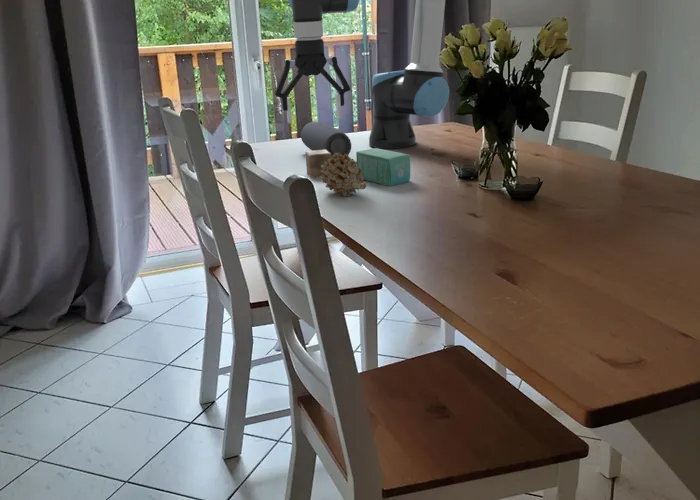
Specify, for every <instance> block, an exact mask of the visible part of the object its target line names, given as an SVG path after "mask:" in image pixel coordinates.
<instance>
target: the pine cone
mask: <svg viewBox="0 0 700 500" xmlns="http://www.w3.org/2000/svg"><path fill="white" fill-rule="evenodd" d="M327 161H328V162H326V161H325V165H321V167H322V170H321V172H322V175H321V176H320V177H319V178H320V180H321V181H322V183H324V184H325V188H327V189H329V190H330V191H332V190H333V192H335V193H336V194H337V195H339V194H342V196H343V197H345V196H346V197H350V194H352V193H354V194H356V193H357V191H360V190H366V188H367V185H368V183H367V181H364V180H363V179H364V177H363V176H361V173H362V170H361V167H359V166H357V160H354V158H351V157H350V156H349V155H348V154H345V153H344V156H343V155H341V154H340V153H334V155H333V156H331V159H328V160H327ZM356 190H357V191H356Z"/></svg>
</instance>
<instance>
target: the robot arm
mask: <svg viewBox="0 0 700 500" xmlns="http://www.w3.org/2000/svg"><path fill="white" fill-rule="evenodd" d="M288 3H289V5H288V6H289V7H290V9H291V10H292V19H293V33H294V36H293V37H294V38H295V39H296V40H295V42H294V48H295V59H293V60H292V59H291V60H290V59H288V58H287V59H284V61H283V70H282V72H281V75H280V78H279V80H278V82H277V85H276V87H275V90H274V94H273V95H275V97H277V98H280V99H281V105H282V111H286V116H287V123H288V124H292V123H293V122H292V110H291V109H292V108H291V99H290V97H289V95H290V94H291V92H292V91H293V89H294V88H295V87H296V85H297V84H298V82H299V81H300V79H302V78H303V76H306V77H310V76H319V75H320V74H321V76H322V77H323V78H324V79H325V80H326V81H327V82H328V83H329V84H330V85H331V86H332V87H333V89H335V90H336V91H337V93H334V95H335V109H336V119H338V120H342V107H344V105H345V94H346V93H347V92H350V91H351V86H350V85H349V83H348V81H347V79H346V77H345V75H344V74H343V72H342V70H341V69H340V67H339V63H338V59H337V57H336V56H334V55H332V56H330V57H326V55H325V43H324V39H323V37H324V27H323V15H324V14H339V13H340V14H341V13H343V14H346V13H351V12H354V11H356V9H357V8H358V6H359V4H360V0H288ZM414 7H415V8H414V17H413V18H414V19H413V20H414V21H413V28H412V30H413V31H412V42H411V53H410V62H409V64H408V65H407V66H406V67H405V68H404V69H402V70H396V71H390V72H389V71H388V72H381V73H375V74H374V75H373V77H372V79H371V80H372V83H371V84H372V85H371V93H372V111H373V123H372V127H371V131H370V133H369V137H368V142H369V143H368V145H369V146H370V147H372V148H378V149H400V148H401V149H402V148H408V147H411V146H414V145H416V143H417V141H416V139H417V138H416V134H415V130H414V128H413V126H412V122H411V117H410V116H412V115H413V116H419V117H434V116H437V115H438V114H440V113H441V111H442V110H444V109H445V107H446V105H447V104H448V101H449V98H450V97H449V96H450V86H449V85H448V81H447V80H446V79H444V71H443V69H442V67H440V58H439V55H440V56H441V47H442V38H443V37H442V36H443V28H444V27H443V26H444V25H443V24H444V17H445V7H446V0H415V6H414ZM326 64H328V65H329V66H331V67H332V69H333V71H334V73H335V74H336V76H337V79H338V80H339V82H340V84H341V85H342V87H341V86H340V84H338V83H337V81H336V80H335V79H334V78H333V77H332V76H331V74H329V73H328V72H327V71H326V69H325V66H326ZM293 66H296V69H297V71H296V72H295V74H294V76H293V77H292V79H291V80H290V82H289V83H288V84H287V86H286V87H285V88H284V86H285V83H286V80H287V78H288V76H289V73H290V70H291V69H293ZM283 88H284V90H283ZM282 91H283V92H282Z"/></svg>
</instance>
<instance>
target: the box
mask: <svg viewBox="0 0 700 500" xmlns="http://www.w3.org/2000/svg"><path fill="white" fill-rule="evenodd" d="M355 158H356V162H357V164H356V166H359V167H361V170H362V173H361V176H363V177H364V179H363V181H366V182H367V181H368V182H372V183H376V184H379V185H383V186H388V187H393V186H396V185H400V184H404V183H406V182H410V181H411V156H410V154H407V153H402V152H397V151H392V150H388V149H384V148H375V147H372V148H370V149H364V150H358V151H356V157H355Z"/></svg>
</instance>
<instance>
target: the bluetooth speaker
mask: <svg viewBox="0 0 700 500" xmlns="http://www.w3.org/2000/svg"><path fill="white" fill-rule="evenodd" d="M300 140H301V141H302V143H303V144H304V145H305V147H306V148H308V149H309V151H314V150H324V149H325V150H327V151H328V152H329V153H330V154H331V156H333V155H334V153H340V154H341V155H343V156H344V153H345V154H348V156H349V155H350V153H351V150H352V142H351V139H350V138H349V135H347V134H346V133H345V132H343V131H341V130H339V129H337V128H335V127H333V126H331V125H329V124H326V123H322V122H317V121H311V122H310V121H309V122H308V123H306V124H304V126H303V128H302V129H301V133H300Z"/></svg>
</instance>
